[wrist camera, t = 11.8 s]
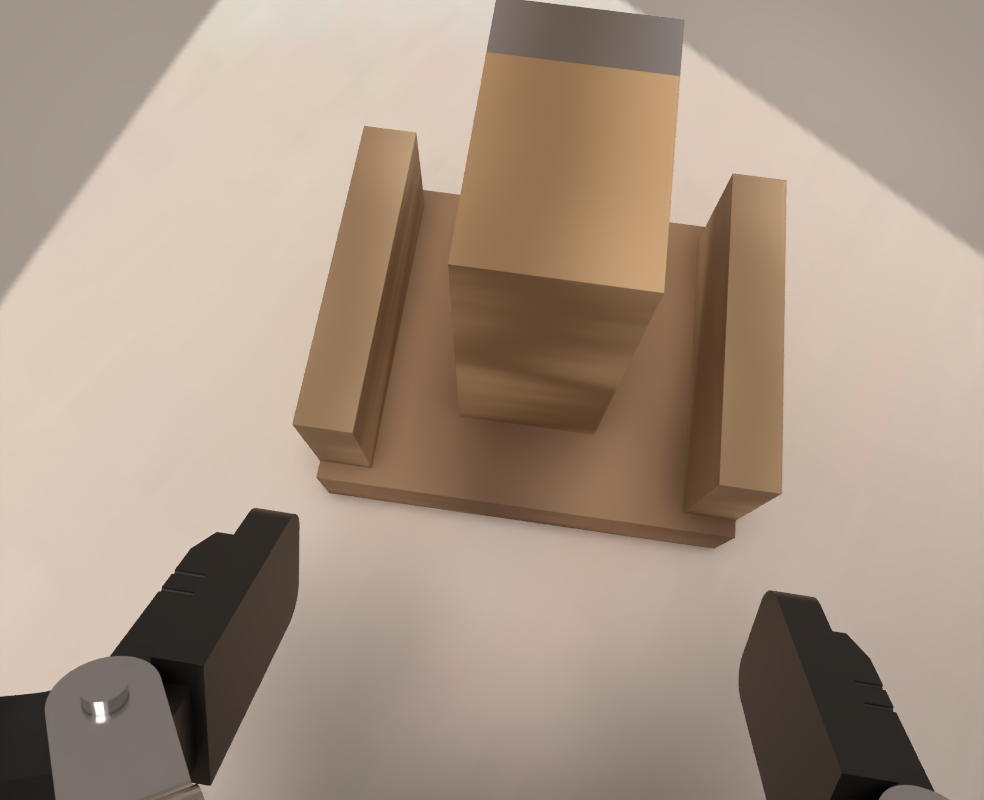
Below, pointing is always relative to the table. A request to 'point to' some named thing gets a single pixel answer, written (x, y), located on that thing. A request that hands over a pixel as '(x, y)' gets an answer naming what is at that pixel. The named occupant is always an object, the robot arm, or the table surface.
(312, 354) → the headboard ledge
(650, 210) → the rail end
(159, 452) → the table surface
